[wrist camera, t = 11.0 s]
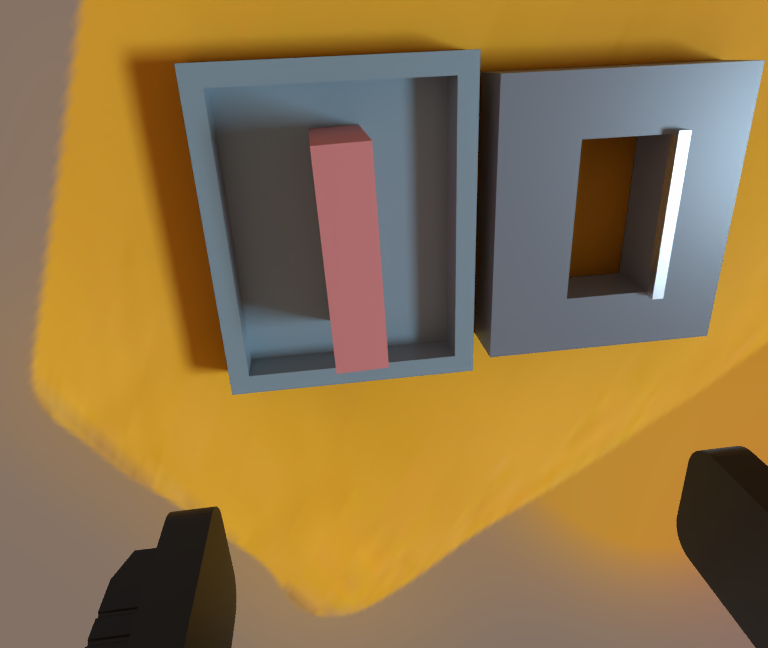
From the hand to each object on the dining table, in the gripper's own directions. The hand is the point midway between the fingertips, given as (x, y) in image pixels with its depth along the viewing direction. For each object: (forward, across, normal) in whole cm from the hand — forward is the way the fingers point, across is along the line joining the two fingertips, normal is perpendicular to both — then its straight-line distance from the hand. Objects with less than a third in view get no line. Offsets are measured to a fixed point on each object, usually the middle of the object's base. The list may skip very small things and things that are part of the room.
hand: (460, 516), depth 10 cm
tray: (+22, +1, +1) cm, 22 cm away
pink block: (+19, +1, +6) cm, 20 cm away
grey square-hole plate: (+23, -12, +1) cm, 26 cm away
